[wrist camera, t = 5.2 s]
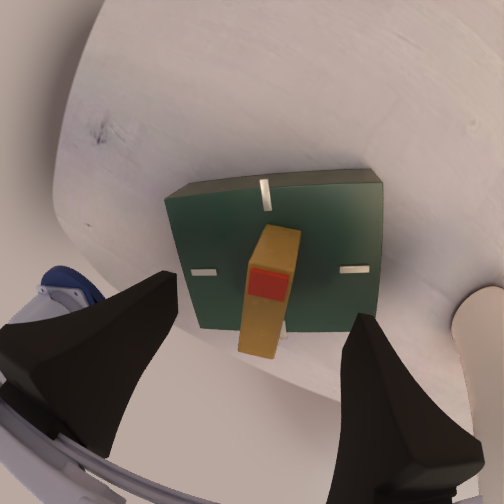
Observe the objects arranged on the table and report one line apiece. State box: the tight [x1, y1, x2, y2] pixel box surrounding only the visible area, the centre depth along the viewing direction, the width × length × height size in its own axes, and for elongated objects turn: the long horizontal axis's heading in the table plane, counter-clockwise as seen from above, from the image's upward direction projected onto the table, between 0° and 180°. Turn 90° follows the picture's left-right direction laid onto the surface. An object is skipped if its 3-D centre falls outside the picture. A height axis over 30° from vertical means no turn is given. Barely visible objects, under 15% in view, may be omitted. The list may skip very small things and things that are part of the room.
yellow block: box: [238, 224, 301, 359], centre depth 12 cm, size 5×2×4 cm, turn 173°
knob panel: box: [164, 169, 383, 339], centre depth 15 cm, size 10×9×3 cm
